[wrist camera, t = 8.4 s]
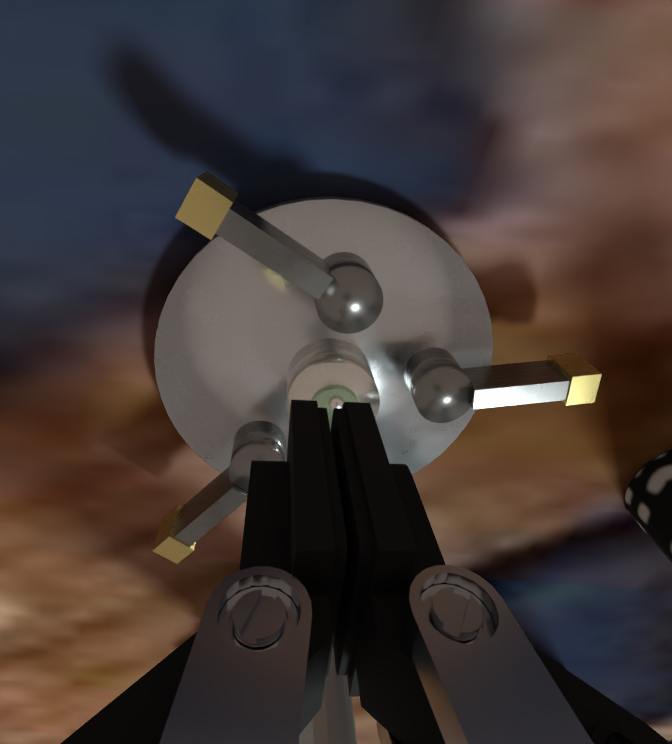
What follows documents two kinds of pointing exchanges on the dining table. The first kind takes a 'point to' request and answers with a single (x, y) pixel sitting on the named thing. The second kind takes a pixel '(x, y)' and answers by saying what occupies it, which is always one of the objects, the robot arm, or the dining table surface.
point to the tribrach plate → (316, 332)
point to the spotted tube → (653, 501)
